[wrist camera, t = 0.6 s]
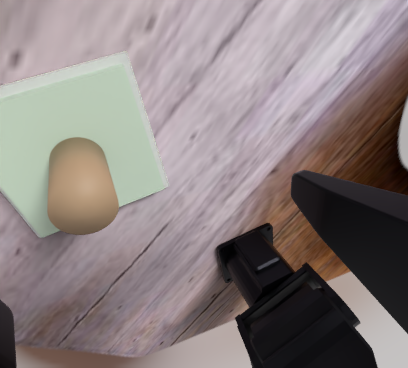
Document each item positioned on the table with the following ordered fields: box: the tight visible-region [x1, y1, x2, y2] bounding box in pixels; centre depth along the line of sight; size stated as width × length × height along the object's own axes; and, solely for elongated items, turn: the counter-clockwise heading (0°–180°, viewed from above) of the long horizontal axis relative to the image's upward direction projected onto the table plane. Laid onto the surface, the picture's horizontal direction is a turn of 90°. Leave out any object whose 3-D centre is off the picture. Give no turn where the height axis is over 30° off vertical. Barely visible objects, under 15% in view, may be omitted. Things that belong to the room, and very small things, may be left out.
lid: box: [0, 63, 165, 238], centre depth 16 cm, size 9×9×6 cm
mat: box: [0, 51, 169, 238], centre depth 18 cm, size 10×10×1 cm
